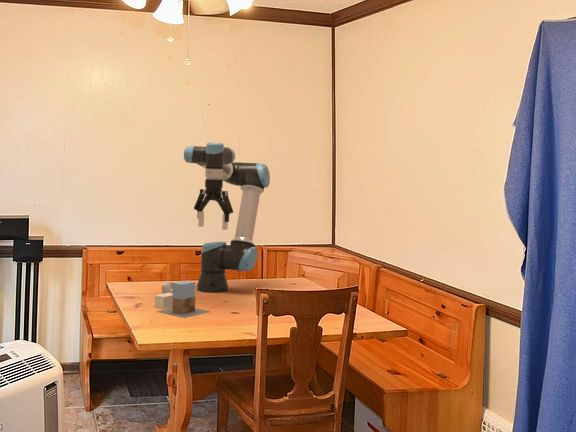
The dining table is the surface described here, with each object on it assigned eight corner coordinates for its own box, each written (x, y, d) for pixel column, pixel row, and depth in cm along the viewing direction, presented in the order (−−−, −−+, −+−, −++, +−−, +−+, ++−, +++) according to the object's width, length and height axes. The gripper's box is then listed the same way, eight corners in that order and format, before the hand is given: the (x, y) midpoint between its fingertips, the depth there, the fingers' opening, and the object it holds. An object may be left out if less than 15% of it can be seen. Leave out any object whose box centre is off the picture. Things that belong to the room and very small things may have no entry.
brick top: (185, 294, 287) (186, 280, 286) (195, 296, 284) (195, 282, 284) (172, 297, 280) (172, 282, 280) (181, 299, 278) (181, 284, 277)
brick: (168, 306, 296) (168, 292, 296) (176, 308, 293) (177, 294, 293) (154, 309, 290) (154, 295, 289) (163, 311, 287) (163, 297, 286)
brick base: (185, 309, 288) (186, 294, 287) (194, 311, 285) (195, 296, 284) (172, 312, 281) (172, 297, 281) (181, 314, 278) (181, 299, 278)
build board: (182, 307, 294) (182, 305, 294) (211, 314, 285) (211, 311, 285) (155, 313, 281) (155, 311, 281) (184, 320, 272) (184, 318, 272)
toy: (152, 287, 296) (169, 274, 310) (158, 313, 299) (175, 298, 313) (164, 287, 294) (181, 273, 307) (171, 312, 297) (187, 298, 310)
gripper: (186, 177, 301) (185, 225, 304) (231, 180, 287) (229, 231, 289) (198, 176, 308) (197, 224, 310) (242, 180, 293) (240, 230, 296)
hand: (212, 228), depth 300 cm, fingers open, 13 cm apart
